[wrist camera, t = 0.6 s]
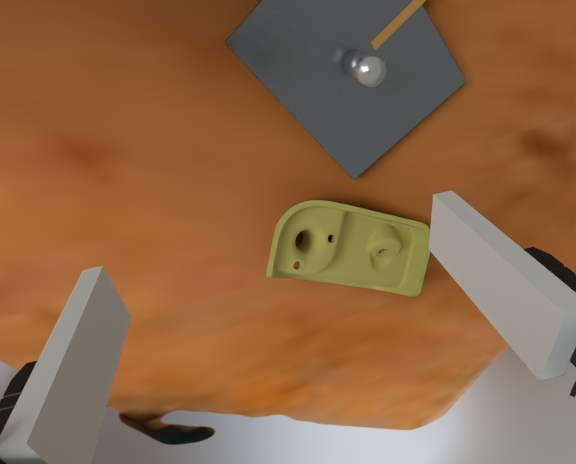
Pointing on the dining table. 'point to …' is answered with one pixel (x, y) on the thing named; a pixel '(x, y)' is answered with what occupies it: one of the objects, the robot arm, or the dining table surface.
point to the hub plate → (324, 88)
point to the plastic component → (350, 247)
